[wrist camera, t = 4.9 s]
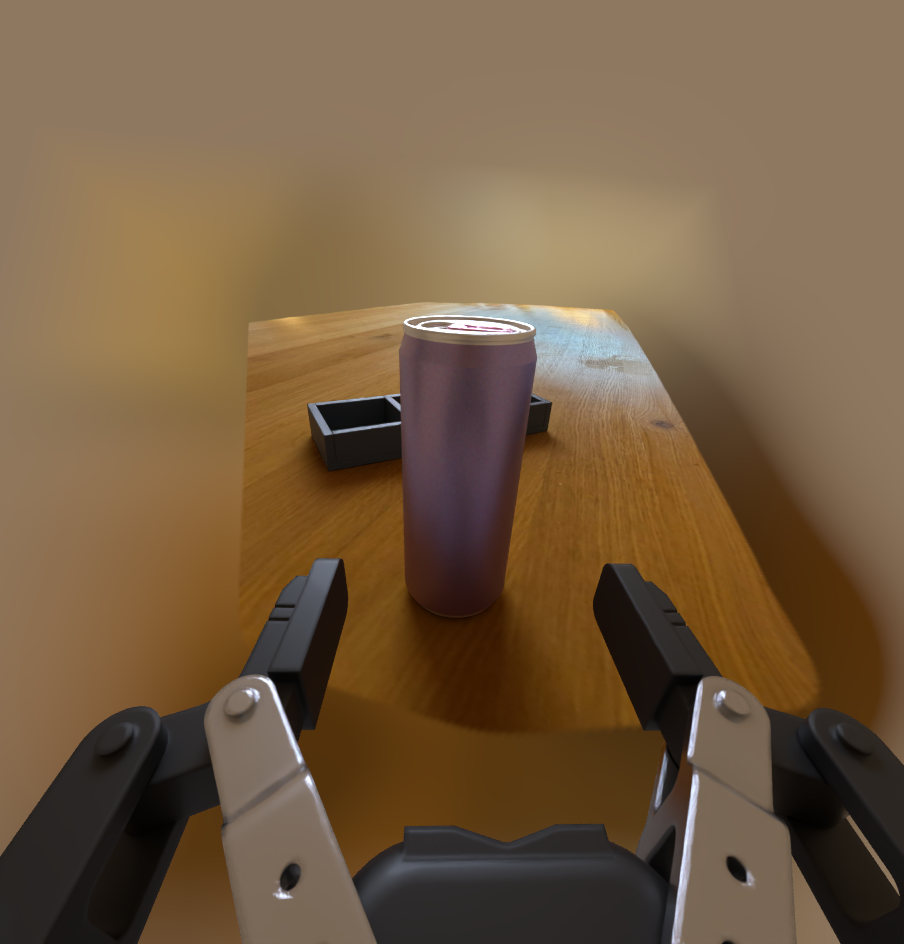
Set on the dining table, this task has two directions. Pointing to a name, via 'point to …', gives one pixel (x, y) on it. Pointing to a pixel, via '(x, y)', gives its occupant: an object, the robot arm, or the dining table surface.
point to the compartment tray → (378, 428)
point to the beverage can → (462, 454)
